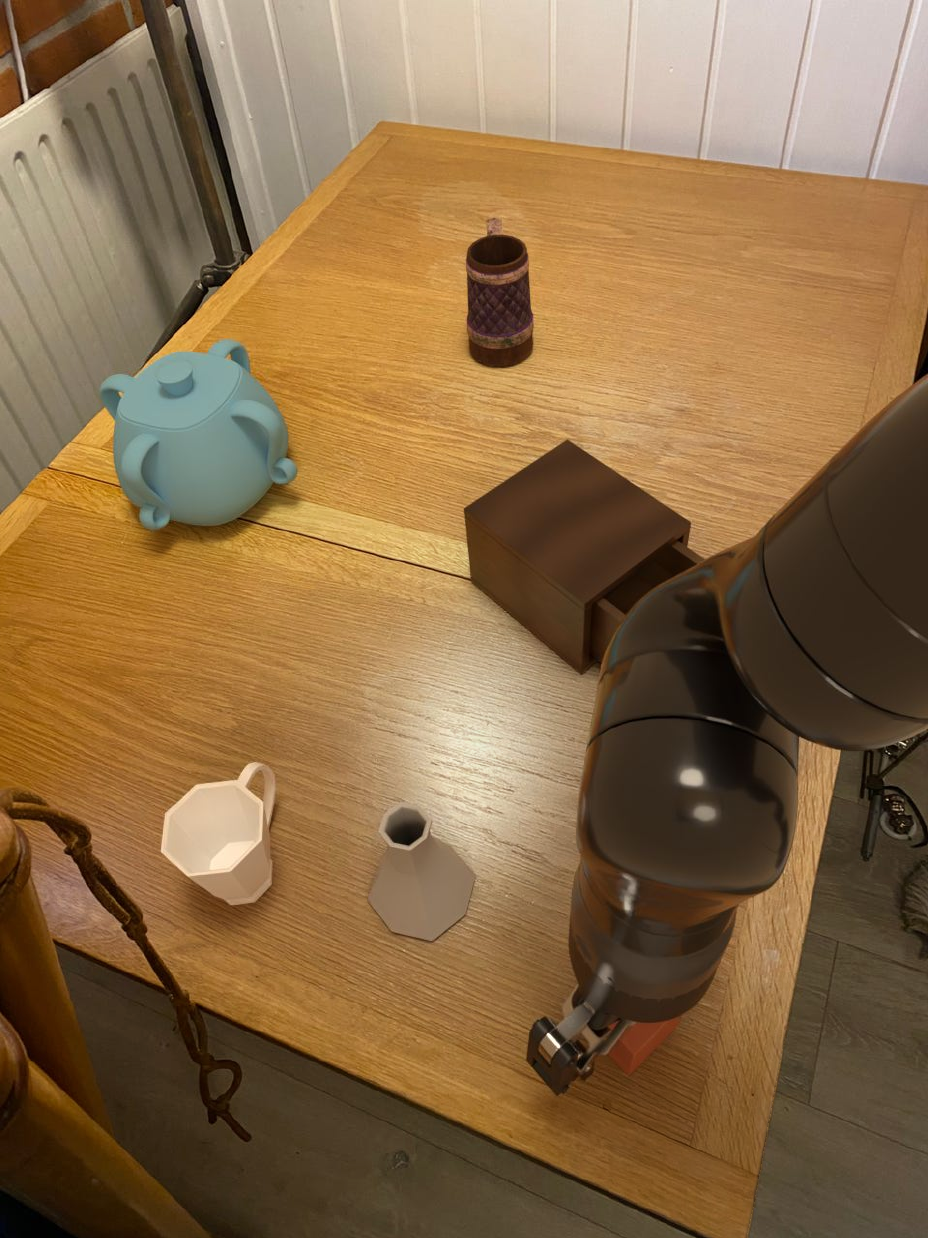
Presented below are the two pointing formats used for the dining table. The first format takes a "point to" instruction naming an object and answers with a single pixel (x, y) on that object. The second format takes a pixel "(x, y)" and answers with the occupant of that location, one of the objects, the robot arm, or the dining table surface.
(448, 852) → the flask
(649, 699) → the robot arm
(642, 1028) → the block
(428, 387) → the dining table surface
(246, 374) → the decorative pot
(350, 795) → the dining table surface
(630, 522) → the cabinet
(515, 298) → the mug
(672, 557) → the drawer
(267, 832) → the cup
